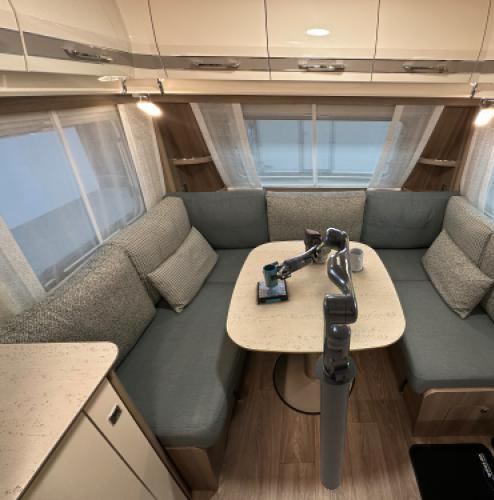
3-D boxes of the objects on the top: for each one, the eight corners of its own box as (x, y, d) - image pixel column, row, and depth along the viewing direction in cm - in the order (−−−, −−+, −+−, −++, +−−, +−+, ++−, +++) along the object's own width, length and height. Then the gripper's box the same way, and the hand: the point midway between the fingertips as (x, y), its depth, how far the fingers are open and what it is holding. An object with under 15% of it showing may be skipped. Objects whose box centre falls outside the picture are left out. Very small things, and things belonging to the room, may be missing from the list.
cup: (278, 287, 133) (276, 270, 128) (265, 288, 132) (262, 272, 127) (277, 279, 139) (276, 263, 134) (265, 280, 138) (262, 264, 133)
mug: (346, 264, 161) (346, 248, 155) (359, 262, 162) (360, 247, 156) (351, 275, 150) (353, 259, 145) (366, 274, 152) (368, 257, 146)
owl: (324, 264, 160) (324, 235, 150) (303, 264, 160) (302, 235, 150) (324, 253, 171) (324, 225, 161) (304, 253, 171) (303, 225, 161)
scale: (288, 301, 133) (288, 296, 131) (257, 305, 130) (257, 300, 129) (285, 282, 146) (285, 277, 144) (257, 285, 143) (257, 280, 142)
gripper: (286, 252, 143) (258, 263, 134) (302, 264, 133) (273, 276, 124) (287, 264, 147) (260, 275, 138) (302, 276, 137) (274, 289, 128)
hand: (266, 276), depth 131 cm, fingers closed on cup, 6 cm apart
